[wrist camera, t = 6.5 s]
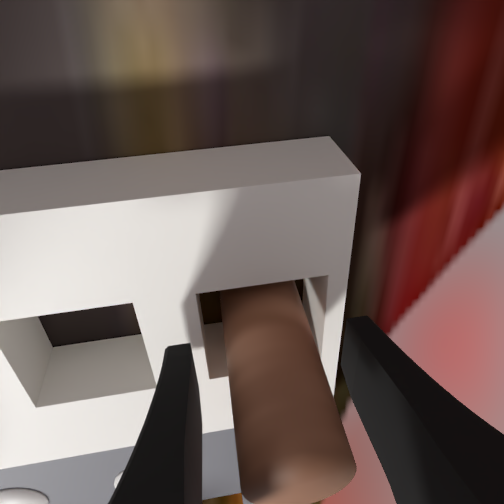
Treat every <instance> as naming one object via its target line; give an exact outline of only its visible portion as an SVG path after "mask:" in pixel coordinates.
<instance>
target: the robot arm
mask: <svg viewBox="0 0 504 504" xmlns="http://www.w3.org/2000/svg"><path fill="white" fill-rule="evenodd" d="M341 367H342V370H343V373H344V377H345V380H346V383H347V386H348V389H349V392H350V395H351V398H352V400H353V403H354V405H355V407H356V409H357V412H358V414H359V416H360V418H361V421H362V423H363V425H364V427H365V430H366V432H367V434H368V436H369V438H370V441H371V443H372V445H373V447H374V449H375V451H376V454H377V456H378V458H379V460H380V463H381V464H382V467H383V469H384V472H385V474H386V476H387V479H388V481H389V483H390V486H391V489H392V492H393V495H394V497H395V500H396V503H397V504H504V434H502V433H501V432H499V431H498V430H496V429H495V428H494V427H492V426H491V425H490V424H488V423H487V422H486V421H484V420H483V419H481V418H480V417H479V416H477V415H476V414H475V413H473V412H472V411H471V410H470V409H468V408H467V407H466V406H465V405H463V404H462V403H461V402H459V401H458V400H457V399H456V398H455V397H453V396H452V395H451V394H450V393H449V392H447V391H446V390H445V389H444V388H443V387H442V386H440V385H439V384H438V383H437V382H436V381H435V380H434V379H432V378H431V377H430V376H429V375H428V374H427V373H426V372H425V371H424V370H422V369H421V368H420V367H419V366H418V365H417V364H416V363H415V362H414V361H413V360H412V359H411V358H409V357H408V356H407V355H406V354H405V353H404V352H403V351H402V350H401V349H400V348H399V347H398V346H397V345H396V344H395V343H394V342H393V341H392V340H391V339H390V338H389V337H388V336H387V335H386V334H385V333H384V332H383V331H382V330H381V329H380V328H379V327H378V326H377V325H376V324H375V323H374V322H373V321H372V320H371V319H370V318H369V317H368V316H362V317H355V318H348V319H347V320H346V328H345V336H344V343H343V351H342V358H341ZM108 504H202V414H201V403H200V393H199V385H198V380H197V375H196V369H195V364H194V359H193V354H192V349H191V343H185V344H179V345H172V346H168V347H167V348H166V349H165V352H164V358H163V363H162V367H161V371H160V375H159V379H158V382H157V386H156V389H155V393H154V396H153V399H152V401H151V404H150V407H149V410H148V413H147V416H146V419H145V422H144V424H143V427H142V429H141V432H140V434H139V437H138V439H137V442H136V444H135V447H134V449H133V452H132V454H131V456H130V459H129V461H128V463H127V465H126V468H125V470H124V472H123V474H122V476H121V478H120V480H119V482H118V484H117V487H116V489H115V491H114V493H113V495H112V497H111V499H110V501H109V502H108Z"/></svg>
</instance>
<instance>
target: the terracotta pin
mask: <svg viewBox="0 0 504 504" xmlns="http://www.w3.org/2000/svg"><path fill="white" fill-rule="evenodd" d="M219 296H220V305H221V314H222V323H223V332H224V341H225V350H226V360H227V369H228V378H229V387H230V396H231V405H232V414H233V424H234V433H235V442H236V451H237V460H238V469H239V478H240V488H241V493H242V495H243V496H244V498H245V499H246V500H248V501H249V502H251V503H253V504H310V503H314V502H317V501H320V500H322V499H325V498H327V497H329V496H331V495H333V494H335V493H337V492H338V491H340V490H342V489H343V488H344V487H345V486H346V485H348V484H349V483H350V481H351V480H352V479H353V477H354V476H355V473H356V463H355V460H354V457H353V454H352V451H351V448H350V445H349V442H348V439H347V436H346V434H345V430H344V427H343V424H342V421H341V418H340V415H339V412H338V409H337V406H336V403H335V400H334V397H333V394H332V391H331V388H330V385H329V382H328V379H327V376H326V374H325V371H324V368H323V365H322V362H321V359H320V356H319V353H318V350H317V347H316V344H315V341H314V338H313V335H312V332H311V329H310V326H309V323H308V320H307V317H306V314H305V311H304V308H303V305H302V302H301V299H300V296H299V293H298V290H297V287H296V284H295V281H294V280H290V281H283V282H276V283H269V284H262V285H255V286H247V287H240V288H233V289H226V290H219Z"/></svg>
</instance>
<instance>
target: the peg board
mask: <svg viewBox="0 0 504 504" xmlns="http://www.w3.org/2000/svg"><path fill="white" fill-rule="evenodd" d="M360 178H361V173H360V172H359V170H358V169H357V168H356V167H355V166H354V164H353V163H352V162H351V161H350V160H349V159H348V157H347V156H346V155H345V154H344V153H343V152H342V150H341V149H340V148H339V147H338V146H337V145H336V143H335V142H334V141H333V140H332V139H331V137H330V136H324V137H315V138H305V139H296V140H286V141H276V142H267V143H257V144H248V145H238V146H229V147H219V148H209V149H200V150H190V151H181V152H171V153H162V154H152V155H142V156H133V157H123V158H114V159H104V160H95V161H85V162H76V163H66V164H56V165H47V166H37V167H28V168H18V169H9V170H0V469H5V468H11V467H17V466H22V465H28V464H34V463H39V462H45V461H51V460H56V459H62V458H68V457H73V456H79V455H85V454H90V453H96V452H102V451H107V450H113V449H119V448H124V447H130V446H135V444H136V442H137V439H138V437H139V434H140V432H141V429H142V427H143V424H144V422H145V419H146V416H147V413H148V410H149V407H150V404H151V401H152V399H153V396H154V393H155V389H156V386H157V382H158V379H159V375H160V371H161V367H162V363H163V358H164V352H165V349H166V348H167V347H168V346H172V345H179V344H185V343H191V349H192V354H193V359H194V364H195V369H196V375H197V380H198V385H199V393H200V403H201V414H202V434H204V433H209V432H215V431H221V430H226V429H232V428H234V424H233V414H232V405H231V396H230V387H229V378H228V369H227V360H226V350H225V341H224V332H223V323H222V322H219V323H212V324H206V325H204V322H203V315H202V309H201V303H200V296H199V293H205V292H212V291H219V290H226V289H233V288H240V287H247V286H255V285H262V284H269V283H276V282H283V281H290V280H297V279H303V301H302V305H303V308H304V311H305V314H306V317H307V320H308V323H309V326H310V329H311V332H312V335H313V338H314V341H315V344H316V347H317V350H318V353H319V356H320V359H321V362H322V365H323V368H324V371H325V374H326V376H327V379H328V382H329V385H330V388H331V391H332V394H333V396H334V388H335V380H336V372H337V364H338V356H339V348H340V340H341V332H342V324H343V316H344V308H345V299H346V291H347V283H348V275H349V267H350V259H351V251H352V243H353V235H354V227H355V219H356V211H357V203H358V195H359V186H360ZM127 303H133V306H134V309H135V312H136V316H137V319H138V323H139V326H140V330H141V333H142V334H138V335H132V336H125V337H118V338H112V339H105V340H98V341H91V342H85V343H78V344H71V345H65V346H58V347H52V345H51V343H50V341H49V339H48V337H47V334H46V332H45V330H44V328H43V326H42V324H41V322H40V320H39V318H38V316H42V315H49V314H56V313H63V312H70V311H77V310H84V309H91V308H98V307H105V306H113V305H120V304H127Z"/></svg>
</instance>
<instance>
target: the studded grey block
mask: <svg viewBox="0 0 504 504" xmlns="http://www.w3.org/2000/svg"><path fill="white" fill-rule="evenodd" d="M134 447H135V446H130V447H124V448H119V449H113V450H107V451H102V452H96V453H90V454H85V455H79V456H73V457H68V458H62V459H56V460H51V461H45V462H39V463H34V464H28V465H22V466H17V467H11V468H5V469H0V504H108V502H109V501H110V499H111V497H112V495H113V493H114V491H115V489H116V487H117V484H118V482H119V480H120V478H121V476H122V474H123V472H124V470H125V468H126V465H127V463H128V461H129V459H130V456H131V454H132V452H133V449H134ZM236 493H241V488H240V478H239V469H238V460H237V451H236V442H235V433H234V428H232V429H226V430H221V431H215V432H209V433H204V434H202V500H205V499H210V498H216V497H221V496H226V495H231V494H236ZM242 497H243V504H253V503H251V502H249V501H248V500H246V499H245V498H244V496H243V495H242Z"/></svg>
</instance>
